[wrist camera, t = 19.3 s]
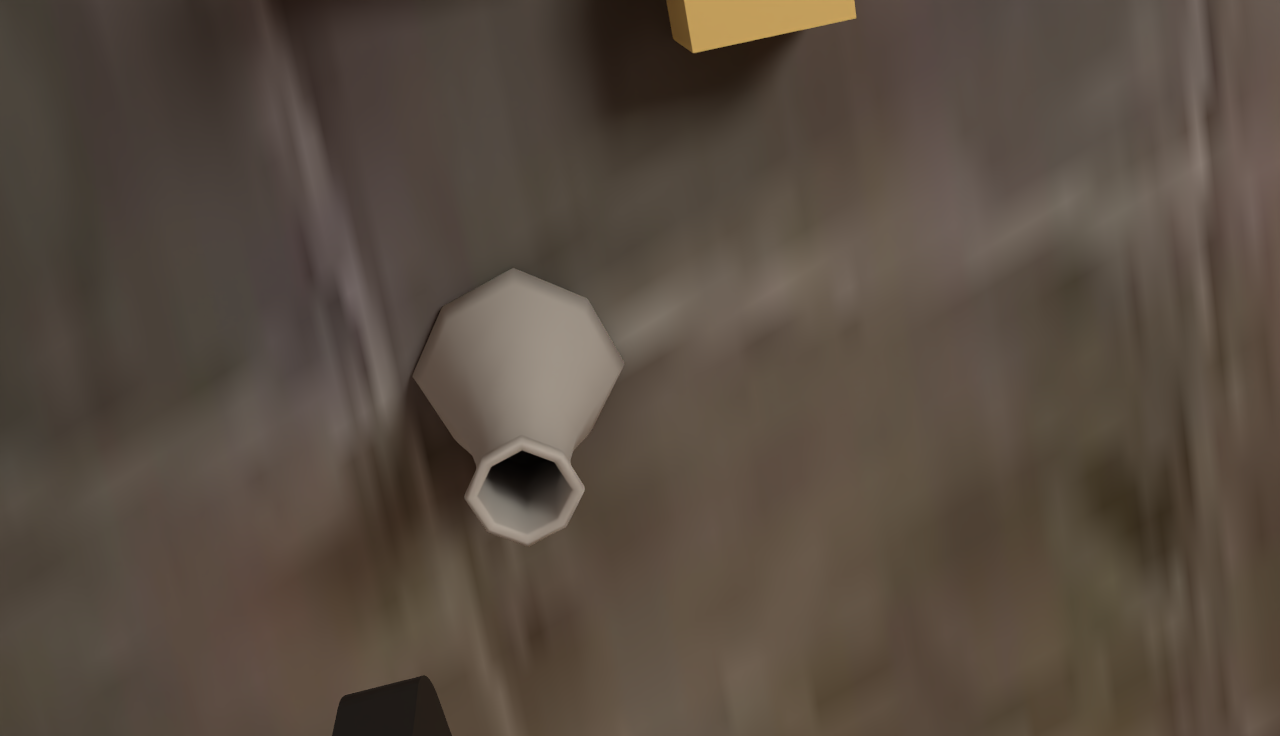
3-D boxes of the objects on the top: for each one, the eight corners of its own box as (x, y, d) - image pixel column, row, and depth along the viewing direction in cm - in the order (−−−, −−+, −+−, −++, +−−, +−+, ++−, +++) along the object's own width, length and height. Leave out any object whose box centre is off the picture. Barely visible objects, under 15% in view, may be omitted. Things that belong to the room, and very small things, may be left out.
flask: (510, 230, 39) (514, 324, 30) (658, 358, 42) (703, 482, 32) (376, 375, 41) (340, 508, 31) (527, 491, 43) (534, 647, 34)
